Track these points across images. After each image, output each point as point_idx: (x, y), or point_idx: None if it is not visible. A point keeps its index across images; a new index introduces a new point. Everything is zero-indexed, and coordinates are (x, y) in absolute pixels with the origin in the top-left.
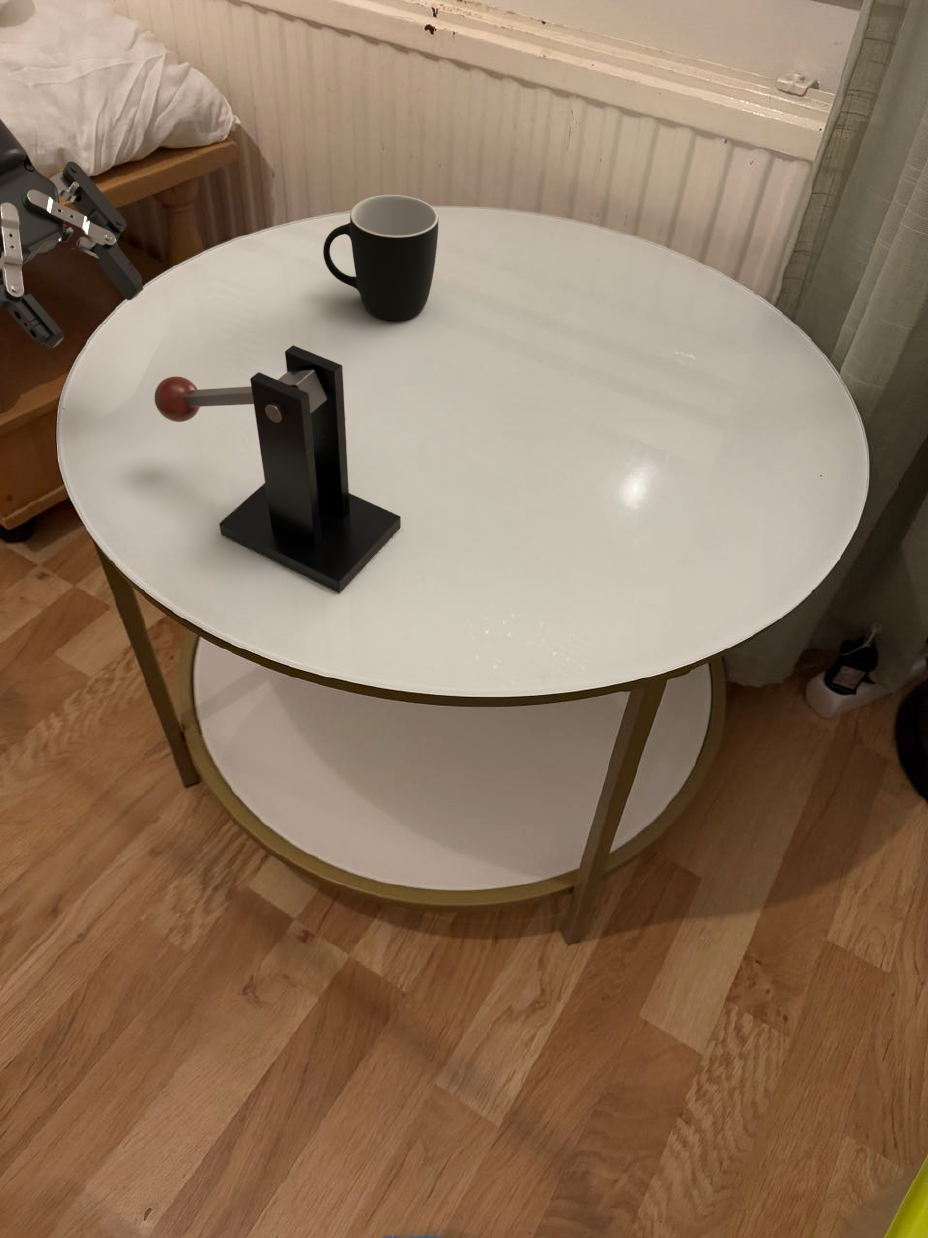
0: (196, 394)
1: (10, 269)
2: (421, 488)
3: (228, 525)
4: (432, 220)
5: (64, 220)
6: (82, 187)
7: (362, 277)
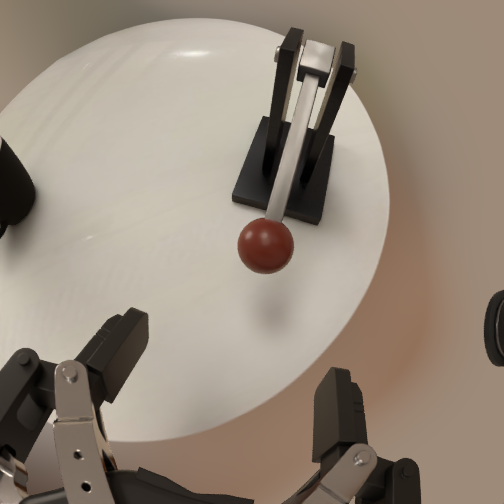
0: (285, 199)
1: (342, 491)
2: (219, 120)
3: (320, 212)
4: None
5: (104, 470)
6: None
7: (9, 202)
